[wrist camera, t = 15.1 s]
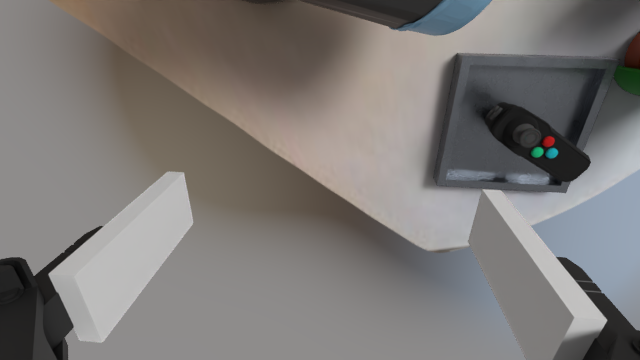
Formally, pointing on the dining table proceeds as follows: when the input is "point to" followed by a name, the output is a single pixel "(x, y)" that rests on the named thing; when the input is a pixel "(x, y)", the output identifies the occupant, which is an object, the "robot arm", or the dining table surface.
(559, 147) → the controller
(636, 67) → the green cylindrical container
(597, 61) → the tray
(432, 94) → the dining table surface
